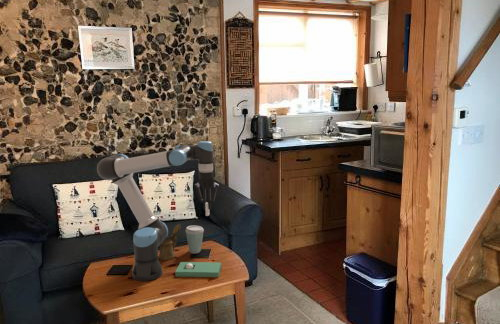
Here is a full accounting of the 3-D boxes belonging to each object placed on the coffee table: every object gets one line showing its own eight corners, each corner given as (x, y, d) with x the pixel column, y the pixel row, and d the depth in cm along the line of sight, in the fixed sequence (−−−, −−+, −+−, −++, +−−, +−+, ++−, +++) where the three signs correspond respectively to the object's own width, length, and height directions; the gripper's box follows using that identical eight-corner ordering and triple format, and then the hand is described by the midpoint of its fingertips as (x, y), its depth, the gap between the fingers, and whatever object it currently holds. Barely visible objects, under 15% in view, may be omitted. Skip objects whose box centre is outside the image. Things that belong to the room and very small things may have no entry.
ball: (183, 268, 212) (189, 263, 212) (185, 264, 216) (190, 260, 216) (188, 274, 213) (194, 269, 212) (189, 270, 217) (195, 266, 216)
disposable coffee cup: (198, 246, 248) (197, 222, 246) (208, 251, 240) (207, 227, 237) (182, 251, 241) (181, 226, 239) (192, 256, 233) (191, 231, 231)
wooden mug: (184, 256, 235) (183, 225, 231) (162, 261, 227) (160, 230, 224) (178, 251, 242) (177, 221, 239) (156, 256, 235) (154, 226, 232)
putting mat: (175, 276, 209) (175, 271, 209) (180, 266, 221) (180, 262, 220) (218, 277, 208) (218, 272, 207) (221, 266, 220) (221, 262, 219)
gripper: (192, 172, 209) (193, 217, 213) (217, 172, 208) (218, 217, 212) (195, 169, 216) (197, 212, 221) (219, 169, 215) (221, 213, 219)
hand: (207, 215), depth 216 cm, fingers closed
